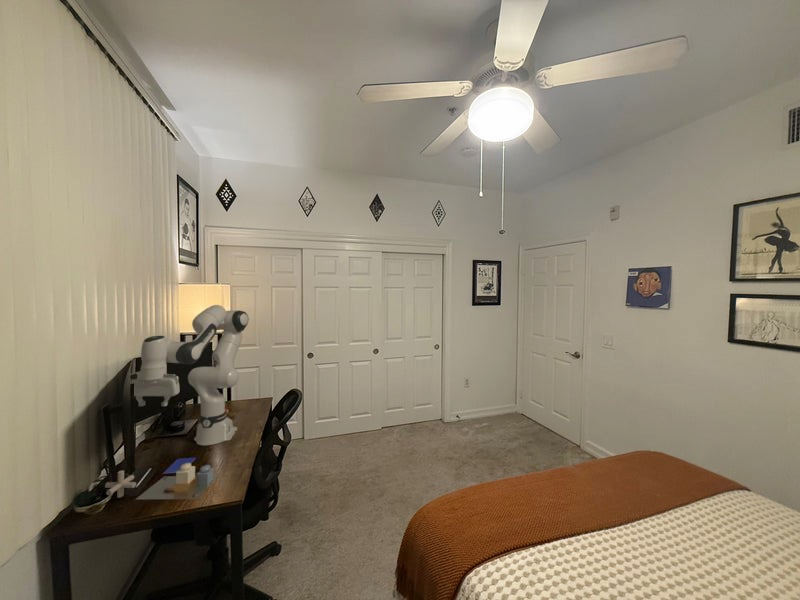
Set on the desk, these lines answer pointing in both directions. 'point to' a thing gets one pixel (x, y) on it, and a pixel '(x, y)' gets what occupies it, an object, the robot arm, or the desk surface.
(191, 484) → the pigtail stub
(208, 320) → the robot arm
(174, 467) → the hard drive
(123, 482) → the pipe connector
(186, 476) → the cream knobbed block
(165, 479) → the plate
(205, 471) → the blue-grey knobbed block
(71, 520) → the desk surface
